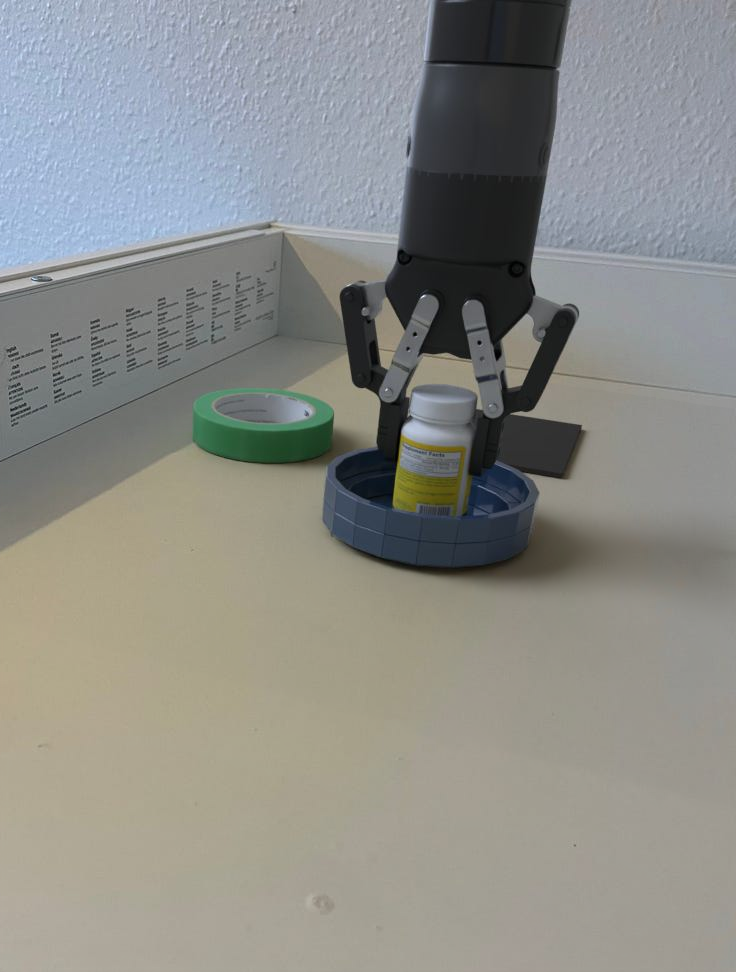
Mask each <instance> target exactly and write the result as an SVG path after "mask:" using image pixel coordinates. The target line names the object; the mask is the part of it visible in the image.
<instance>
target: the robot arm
mask: <svg viewBox="0 0 736 972" xmlns="http://www.w3.org/2000/svg"><path fill="white" fill-rule="evenodd" d="M572 1H573V0H429V4H428V13H427V20H426V29H425V39H424V46H423V47H424V48H423V57H422V61H423V64H422V66H421V72H420V79H419V81H418V87H417V91H416V94H415V95H416V96H415V99H414V104H413V108H412V115H411V121H410V130H409V135H408V136H407V141H406V151H405V157H406V168H405V175H404V176H405V177H404V186H403V195H402V203H401V213H400V214H401V215H400V221H399V222H400V223H399V231H398V239H397V240H398V242H397V250H396V259H395V261H394V264H393V266H392V268H391V270H390V271H389V273H388V274H387V276H386V278H385V279H381V280H375V281H369V282H367V281H365V280H361V279H360V280H357V281H354V282H351V283H350V284H348V285H346V286H344V287H343V288H342V289H341V290H340V292H339V303H340V304H339V305H340V310H341V311H340V312H341V316H342V323H343V329H344V330H343V331H344V337H345V343H346V350H347V355H348V356H347V357H348V363H349V370H350V378H351V381H352V384H353V386H355V387H356V388H358V389H366V390H368V391H370V392H372V393H373V394H374V395H376V396H377V398H378V399H379V413H378V423H377V431H376V433H377V434H376V441H375V443H376V447H378V451H383V452H385V454H384V461H387V462H393V463H396V462H397V460H398V452H399V442H400V433H401V428H402V425H403V423H404V422H405V421H406V420H407V418H408V416H409V403H410V398H411V396H409V397H408V396H407V392H408V391H407V389H408V387H409V386H410V383H411V381H412V380H413V378H414V376H415V373H416V371H417V369H418V367H419V365H420V363H421V362H422V360H423V359H424V357H425V355H426V354H427V355H432V356H434V355H441V354H449V355H451V356H453V357H456V358H459V359H464V360H471V364H472V370H473V374H474V378H475V381H476V382H477V385H478V391H479V397H480V402H481V408H482V410H483V412H482V413H481V415H480V416H479V417H478V422H477V429H476V435H475V441H474V448H473V454H472V460H471V466H470V475H471V476H477V477H482V475H483V473H484V472H485V470H486V468H487V469H491V468H492V467H493V465H494V464H495V462H496V460H497V459H498V457H499V455H500V450H501V444H502V438H503V432H504V427H505V421H506V416H507V415H509V414H515V413H520V412H522V413H529V412H532V411H533V410H534V409H535V408H536V407H537V405H538V403H539V401H540V400H541V397H542V396H543V393H544V392H545V389H546V387H547V385H548V383H549V381H550V379H551V377H552V375H553V373H554V371H555V369H556V367H557V364H558V362H559V360H560V358H561V356H562V354H563V352H564V349H565V347H566V345H567V343H568V341H569V339H570V337H571V335H572V333H573V330H574V328H575V326H576V324H577V322H578V320H579V317H580V309H579V308H578V307H577V305H575V304H573V303H565V304H563V305H561V304H559V303H556V302H554V301H552V300H549V299H546V298H544V297H541V296H539V295H537V294H536V293H537V292H536V288H535V285H534V282H533V278H532V277H533V276H532V264H533V258H534V253H535V252H534V251H535V247H536V242H537V237H538V236H537V235H538V230H539V224H540V218H541V212H542V206H543V202H544V201H543V200H544V195H545V188H546V184H547V183H546V182H547V177H548V171H549V166H550V165H549V164H550V159H551V154H552V147H553V142H554V137H555V130H556V125H557V115H558V97H559V96H558V93H559V82H560V81H559V80H560V70H559V69H560V68H561V65H562V59H563V54H564V48H565V42H566V37H567V30H568V26H569V20H570V13H571V7H572ZM386 298H387V299H388V302H389V304H390V305H391V307H392V310H393V311H394V314H395V315H396V317H397V319H398V321H399V323H400V325H401V327H402V328H403V330H404V333H403V335H402V337H401V339H400V342H399V344H398V345H397V348H396V350H395V352H394V354H393V356H392V358H391V362H390V366H389V368H388V369H387V368H385V367H384V366H382V363H381V357H380V348H379V340H378V334H377V326H376V319H377V317H379V316H380V315H381V314H382V311H383V303H384V301H385V299H386ZM526 315H528V316H530V317H531V318H532V321H533V326H532V332H531V333H532V336H533V338H534V339H535V341H536V342H539V343H540V345H539V347H538V350H537V351H536V354H535V356H534V358H533V360H532V362H531V365H530V367H529V369H528V372H527V373H526V376H525V378H524V380H523V382H522V384H521V385H517V386H513V387H509V381H508V377H507V371H506V369H507V367H506V366H507V362H506V361H507V359H506V355H505V348H504V343H503V339H504V338H505V337H506V335H508V334H509V332H510V331H512V330H513V329H514V328H515V326H516V325H517V324H518V323H519V322H520V321H521V320H522V319H523V318H524V317H525V316H526Z"/></svg>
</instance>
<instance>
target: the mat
mask: <svg viewBox="0 0 736 972" xmlns="http://www.w3.org/2000/svg"><path fill="white" fill-rule="evenodd" d="M482 412H483V409H479V408H476V415H475V419H474V420H473V421H471V422H472V423H473V424H474V425H475V426H476V428H477V422H478V417H479V416H480V415H481V413H482ZM410 417H412V416H411V415H410V414H408V417H407V419H408V418H410ZM582 427H583V425H582V424H577V423H572V422H566V421H559V420H551V419H545V418H538V417H532V416H525V415H519V414H514V413H511V414H509V415H507V416H506V421H505V427H504V432H503V438H502V444H501V450H500V455H499V457H498V459H497V461H499V462H502V463H504V464H506V465H508V466H511V467H513V468H515V469H518V470H519V471H521V472H522V473H527V474H528V473H529V474H533V475H540V476H544V477H545V476H546V477H552V478H556V479H557V478H558V479H563V477H564V474H565V472H566V469H567V466H568V464H569V462H570V460H571V457H572V455H573V451H574V448H575V446H576V444H577V441H578V439H579V436H580V433H581V431H582Z"/></svg>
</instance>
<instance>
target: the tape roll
mask: <svg viewBox="0 0 736 972" xmlns="http://www.w3.org/2000/svg"><path fill="white" fill-rule="evenodd" d="M192 407H193V408H192V439H193V442H194V443H195V444H196V445H197V446H198V447H199V448H201V449H203V450H204V451H206V452H208V453H211V454H213V455H216V456H219V457H222V458H227V459H230V460H235V461H242V462H249V463H261V464H283V463H285V464H286V463H294V462H295V463H296V462H303V461H308V460H310V459H311V460H312V459H314V458H317V457H320V456H322V455H324V454H325V453H326V452H328V451H329V450H330V448H331V447H332V442H333V432H334V423H335V422H334V421H335V411H334V409H333V407H331V405H330V404H329V403H326V402H325V401H323V400H321V399H319V398H317V397H314V396H311V395H308V394H304V393H300V392H295V391H290V390H283V389H276V388H262V387H261V388H260V387H242V388H241V387H240V388H239V387H238V388H230V389H229V388H227V389H221V390H217V391H213V392H209V393H206V394H203V395H202V396H200V397H198V398H197V399H196V400H195V401H194V403H193V406H192Z"/></svg>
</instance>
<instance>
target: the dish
mask: <svg viewBox="0 0 736 972" xmlns="http://www.w3.org/2000/svg"><path fill="white" fill-rule="evenodd" d="M384 454H385V452H383V451H378V447H377V446H372V447H364V448H358V449H354V450H351V451H348V452H346V453H344V454H341V455H338V456H336V457H335V458H334V459H333V460H332V461H330V462H329V464H327V466H326V468H325V477H324V478H325V479H324V490H323V501H322V516H321V517H322V519H321V520H322V523H323V524H324V526H325V527H326V528H327V529H328V531H329V532H330V533H331V535H333V536H334V537H335V538H337V539H339V540H340V541H343V543H346V544H347V545H349V546H351V547H352V548H355V549H358V550H360V551H363V552H364V553H367V554H370V555H373V556H374V557H377V558H381V559H384V560H388V561H392V562H396V563H400V564H405V565H412V566H416V567H417V566H418V567H424V568H425V567H427V568H439V569H440V568H442V569H443V568H445V569H452V568H453V569H455V568H468V567H469V568H470V567H477V566H484V565H485V566H486V565H489V564H490V565H491V564H493V563H498V562H502V561H507V560H510V559H512V558H513V557H515V556H516V555H518V554H520V553H521V552H523V551H524V550H526V549H527V547H528V545H529V542H530V540H531V537H532V533H533V528H534V524H535V523H534V522H535V519H536V514H537V509H538V503H539V499H540V491H539V489H538V487H537V484H536V483H535V481H534V480H533V479H532V478H530V477H529V476H528V475H526V474H525V473H524V472H521V471H519V470H518V469H515V468H513V467H511V466H508V465H506V464H504V463H502V462H499V461H497V460H496V462H495V464H494V465H493V467H492V468H491V469H487V468H486V470H485V472H484V473H483V475H482V477H477V476H472V481H471V488H470V495H469V501H468V508H467V515H466V516H446V515H432V514H421V513H416V512H411V511H405V510H400V509H395V508H392V505H393V496H394V487H395V477H396V469H397V462H396V463H393V462H387V461H384Z"/></svg>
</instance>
